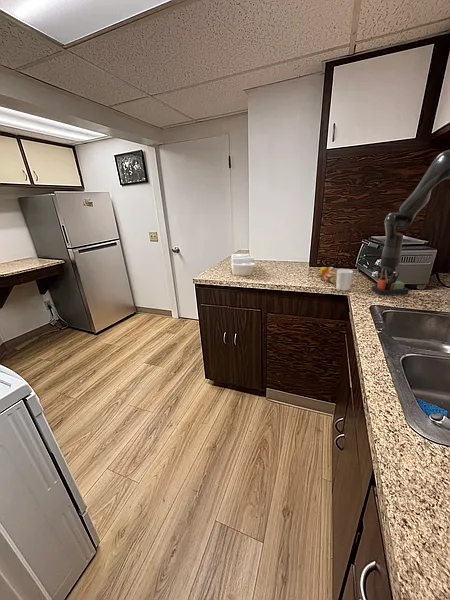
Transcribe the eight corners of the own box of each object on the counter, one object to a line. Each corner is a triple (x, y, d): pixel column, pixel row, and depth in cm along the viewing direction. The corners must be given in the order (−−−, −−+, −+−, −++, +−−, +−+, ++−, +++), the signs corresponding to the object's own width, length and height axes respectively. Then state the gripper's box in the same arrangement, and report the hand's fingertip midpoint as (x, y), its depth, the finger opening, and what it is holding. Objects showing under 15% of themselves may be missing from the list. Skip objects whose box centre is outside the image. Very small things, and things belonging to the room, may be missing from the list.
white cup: (353, 289, 134) (356, 271, 130) (344, 292, 130) (347, 273, 127) (341, 285, 140) (343, 268, 137) (331, 288, 137) (333, 270, 133)
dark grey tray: (397, 288, 131) (398, 284, 131) (408, 294, 124) (409, 289, 123) (371, 290, 131) (372, 285, 131) (380, 295, 124) (381, 290, 123)
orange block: (386, 287, 129) (388, 279, 127) (391, 290, 125) (393, 281, 123) (376, 288, 129) (378, 279, 127) (381, 290, 125) (383, 281, 123)
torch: (322, 279, 165) (337, 286, 141) (312, 273, 165) (324, 279, 141) (329, 268, 163) (345, 273, 139) (318, 262, 163) (332, 266, 139)
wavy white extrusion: (231, 265, 198) (231, 252, 194) (252, 264, 197) (251, 251, 193) (230, 277, 165) (230, 261, 162) (255, 276, 165) (255, 261, 161)
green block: (397, 289, 129) (399, 280, 128) (402, 291, 125) (404, 283, 124) (387, 289, 129) (389, 281, 128) (392, 292, 125) (394, 283, 124)
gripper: (408, 258, 114) (400, 293, 120) (389, 252, 127) (383, 284, 134) (392, 258, 114) (385, 293, 120) (374, 253, 127) (369, 284, 134)
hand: (384, 288), depth 127 cm, fingers closed on orange block, 4 cm apart
